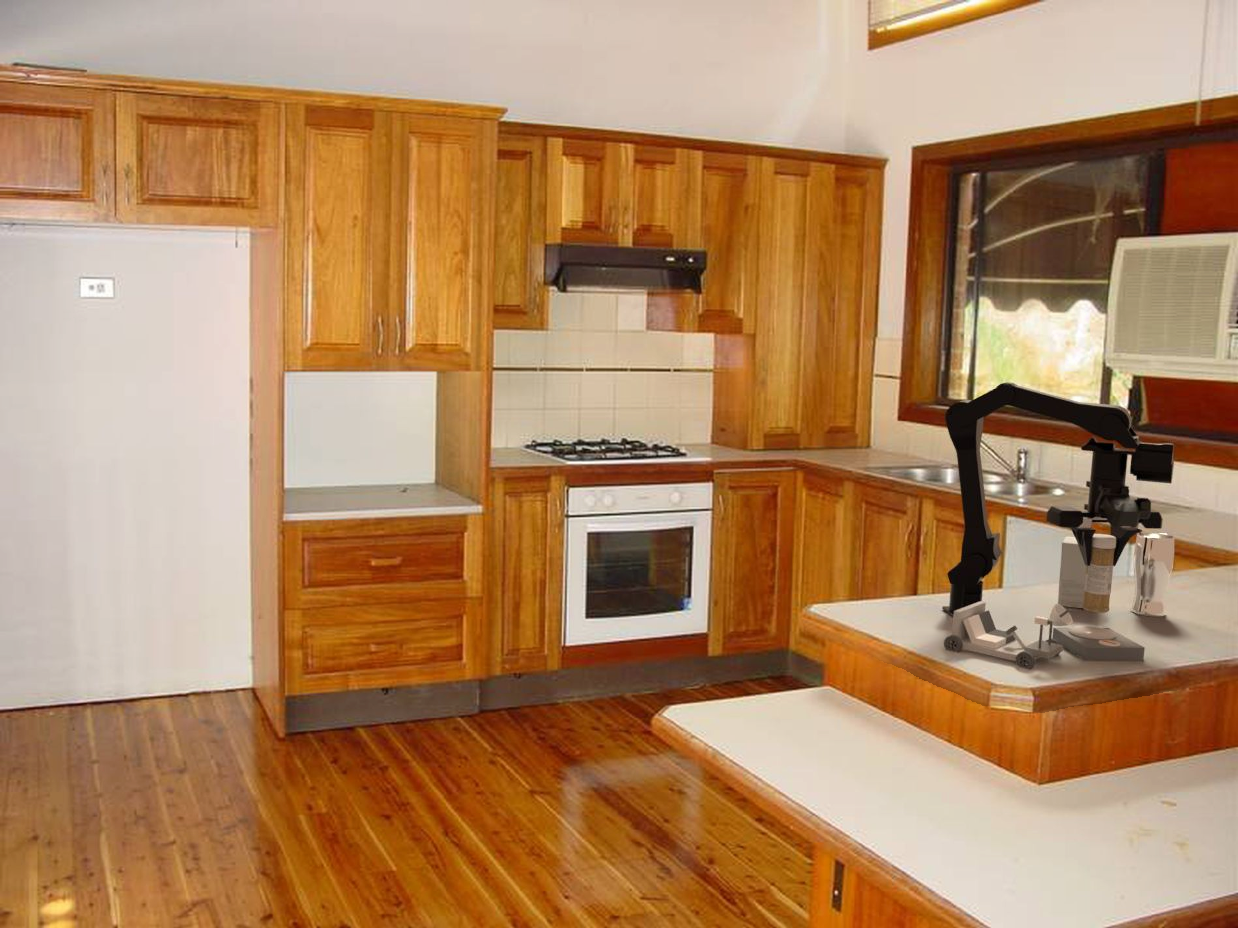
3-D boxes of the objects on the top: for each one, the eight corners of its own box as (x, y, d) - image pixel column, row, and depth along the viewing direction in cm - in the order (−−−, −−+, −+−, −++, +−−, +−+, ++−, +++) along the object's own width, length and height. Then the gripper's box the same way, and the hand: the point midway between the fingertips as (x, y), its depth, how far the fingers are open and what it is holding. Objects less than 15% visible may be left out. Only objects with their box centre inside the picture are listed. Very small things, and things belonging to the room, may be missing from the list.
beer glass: (1128, 614, 236) (1135, 536, 234) (1128, 606, 242) (1135, 530, 240) (1168, 619, 233) (1176, 540, 231) (1167, 610, 240) (1175, 534, 238)
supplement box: (1100, 603, 244) (1105, 539, 243) (1097, 611, 238) (1103, 545, 236) (1060, 597, 247) (1065, 535, 246) (1056, 605, 241) (1061, 541, 239)
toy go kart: (1082, 603, 204) (1054, 615, 195) (1076, 661, 205) (1048, 676, 196) (977, 583, 215) (947, 593, 207) (973, 638, 217) (942, 651, 208)
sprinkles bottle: (1090, 605, 225) (1097, 532, 223) (1114, 611, 221) (1121, 536, 219) (1076, 609, 222) (1083, 534, 220) (1100, 614, 218) (1107, 539, 216)
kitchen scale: (1052, 639, 216) (1053, 625, 216) (1107, 640, 217) (1108, 625, 217) (1085, 660, 204) (1086, 644, 204) (1143, 660, 205) (1144, 645, 205)
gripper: (1078, 484, 209) (1070, 575, 211) (1184, 486, 211) (1175, 576, 213) (1048, 474, 220) (1041, 561, 222) (1149, 476, 222) (1141, 562, 224)
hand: (1100, 565), depth 220 cm, fingers closed on sprinkles bottle, 4 cm apart
